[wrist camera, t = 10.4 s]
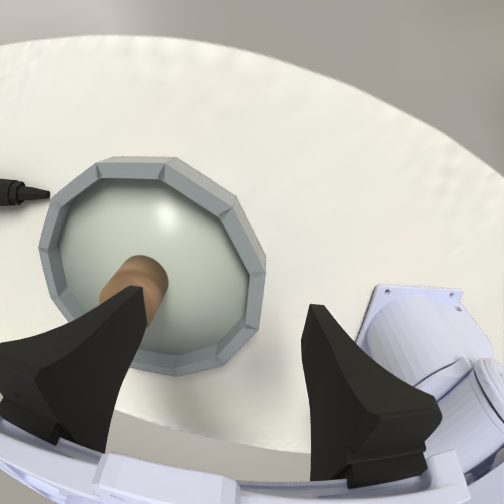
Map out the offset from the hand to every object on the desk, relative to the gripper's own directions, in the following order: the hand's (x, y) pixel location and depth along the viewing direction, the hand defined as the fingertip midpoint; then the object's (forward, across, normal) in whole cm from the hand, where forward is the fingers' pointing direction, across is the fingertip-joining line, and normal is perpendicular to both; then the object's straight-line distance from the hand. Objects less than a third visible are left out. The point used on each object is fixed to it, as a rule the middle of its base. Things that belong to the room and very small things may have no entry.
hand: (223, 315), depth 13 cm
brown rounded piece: (+9, +7, +4) cm, 12 cm away
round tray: (+9, +7, +4) cm, 12 cm away
